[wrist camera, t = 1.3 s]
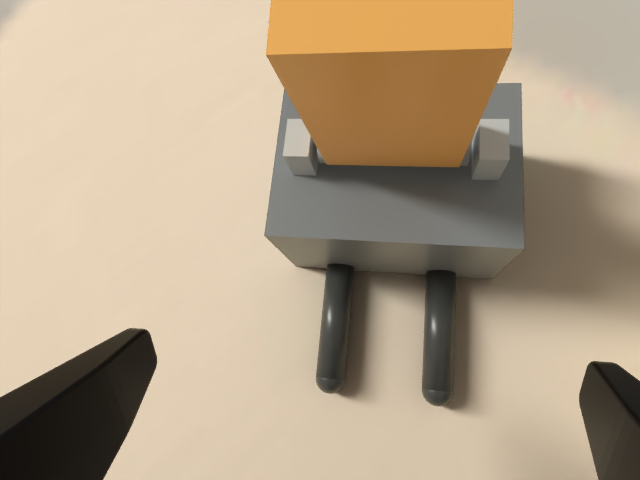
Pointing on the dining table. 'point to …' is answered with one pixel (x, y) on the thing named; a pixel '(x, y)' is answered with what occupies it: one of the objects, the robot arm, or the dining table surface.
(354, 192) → the switch box
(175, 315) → the dining table surface
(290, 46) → the toggle lever
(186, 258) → the dining table surface
